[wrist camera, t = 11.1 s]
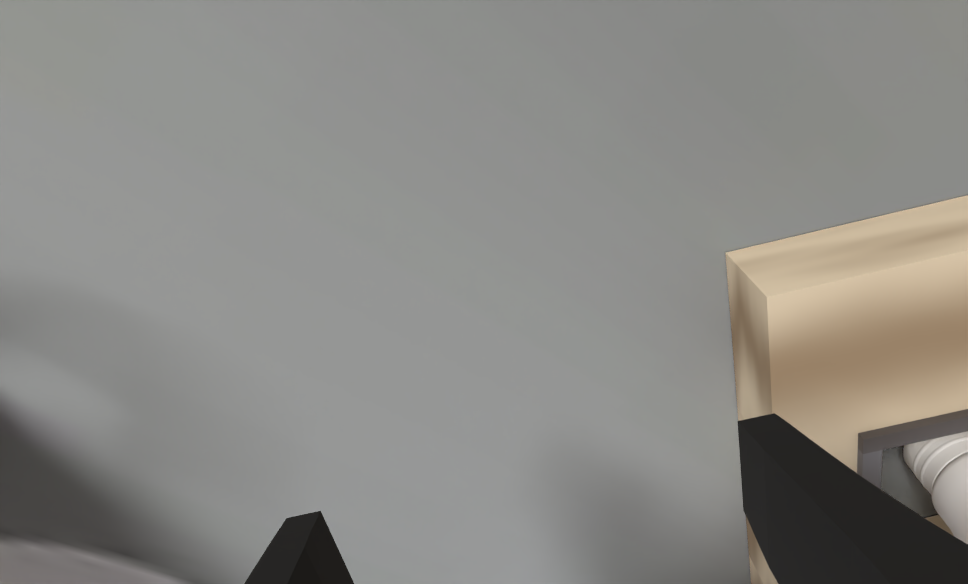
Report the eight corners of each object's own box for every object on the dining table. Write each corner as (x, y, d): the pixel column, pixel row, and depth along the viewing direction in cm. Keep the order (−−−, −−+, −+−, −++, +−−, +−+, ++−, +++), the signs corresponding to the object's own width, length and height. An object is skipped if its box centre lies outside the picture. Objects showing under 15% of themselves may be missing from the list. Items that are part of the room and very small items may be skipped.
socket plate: (1075, 584, 30) (1146, 655, 27) (756, 650, 30) (790, 725, 27) (1185, 143, 20) (1311, 176, 18) (725, 252, 21) (771, 302, 18)
